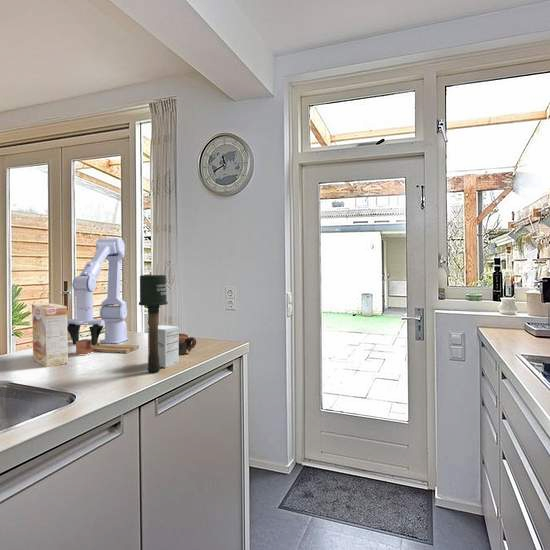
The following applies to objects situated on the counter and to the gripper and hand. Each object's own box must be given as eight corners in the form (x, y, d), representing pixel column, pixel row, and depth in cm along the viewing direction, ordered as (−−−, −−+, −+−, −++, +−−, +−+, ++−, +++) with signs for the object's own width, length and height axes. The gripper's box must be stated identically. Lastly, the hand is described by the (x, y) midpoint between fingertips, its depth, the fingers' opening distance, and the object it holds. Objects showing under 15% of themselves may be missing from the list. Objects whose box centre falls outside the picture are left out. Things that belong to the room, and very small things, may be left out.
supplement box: (147, 366, 135) (146, 327, 135) (162, 361, 142) (161, 324, 142) (165, 368, 132) (164, 329, 132) (179, 363, 139) (179, 325, 139)
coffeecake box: (32, 359, 144) (31, 304, 143) (54, 356, 149) (53, 302, 148) (45, 367, 133) (44, 307, 133) (68, 363, 138) (67, 305, 138)
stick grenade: (160, 376, 123) (159, 275, 122) (133, 374, 125) (132, 275, 124) (172, 369, 131) (172, 274, 130) (148, 367, 133) (147, 274, 132)
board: (97, 346, 166) (97, 343, 166) (138, 348, 163) (138, 345, 163) (83, 351, 157) (83, 348, 157) (126, 353, 154) (126, 349, 154)
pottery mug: (162, 356, 151) (161, 335, 154) (174, 362, 159) (173, 342, 163) (192, 349, 149) (191, 328, 152) (203, 356, 157) (201, 335, 161)
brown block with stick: (94, 348, 162) (94, 336, 162) (103, 349, 162) (103, 336, 162) (76, 355, 152) (75, 341, 151) (86, 355, 151) (85, 341, 151)
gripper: (59, 308, 150) (60, 345, 151) (95, 309, 148) (96, 347, 148) (72, 306, 157) (72, 342, 158) (107, 307, 155) (107, 343, 155)
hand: (85, 344), depth 154 cm, fingers open, 7 cm apart
